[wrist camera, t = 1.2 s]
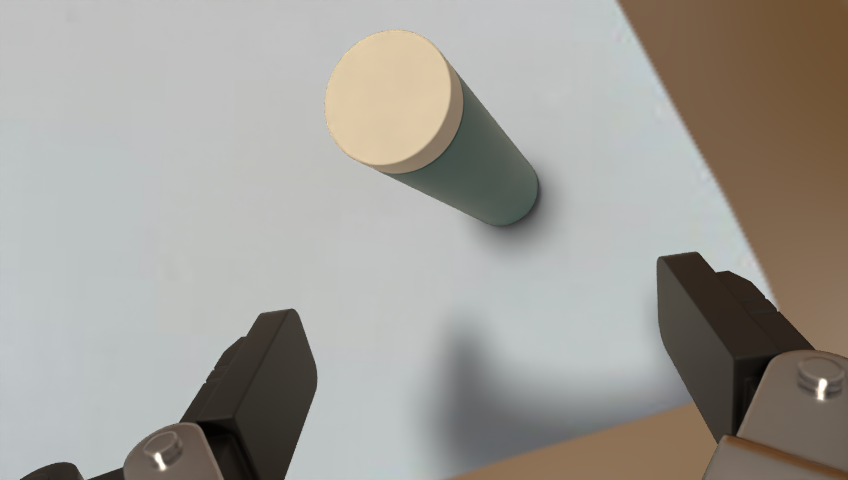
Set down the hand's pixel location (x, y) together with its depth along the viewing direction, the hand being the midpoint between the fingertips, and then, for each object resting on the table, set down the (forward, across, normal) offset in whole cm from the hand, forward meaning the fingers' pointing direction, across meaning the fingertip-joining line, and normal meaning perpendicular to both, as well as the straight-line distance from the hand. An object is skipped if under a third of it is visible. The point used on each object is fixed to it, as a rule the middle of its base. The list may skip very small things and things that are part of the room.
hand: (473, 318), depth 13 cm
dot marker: (+13, -1, +2) cm, 13 cm away
